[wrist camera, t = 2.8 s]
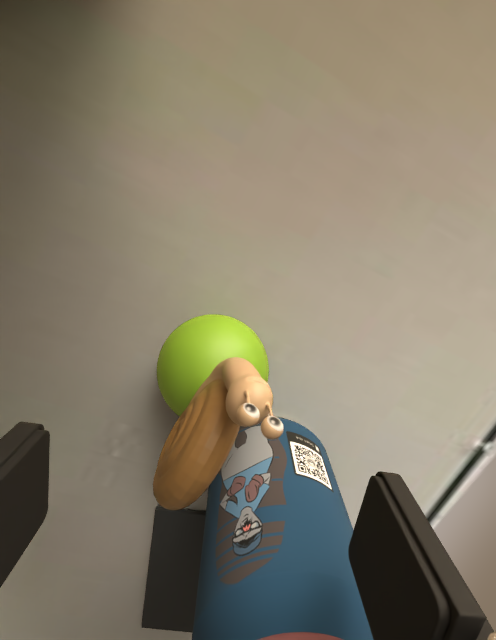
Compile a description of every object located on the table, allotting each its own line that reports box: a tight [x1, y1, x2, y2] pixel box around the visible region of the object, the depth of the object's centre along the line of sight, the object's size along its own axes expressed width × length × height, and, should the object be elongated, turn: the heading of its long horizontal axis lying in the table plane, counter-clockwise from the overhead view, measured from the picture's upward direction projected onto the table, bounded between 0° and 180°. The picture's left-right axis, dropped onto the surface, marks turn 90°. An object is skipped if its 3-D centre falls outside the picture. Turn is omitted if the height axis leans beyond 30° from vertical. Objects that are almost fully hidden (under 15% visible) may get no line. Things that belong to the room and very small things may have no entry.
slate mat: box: [142, 506, 206, 632], centre depth 25 cm, size 11×11×1 cm
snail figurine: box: [153, 315, 283, 510], centre depth 15 cm, size 5×6×12 cm
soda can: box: [192, 417, 374, 640], centre depth 17 cm, size 7×7×12 cm
